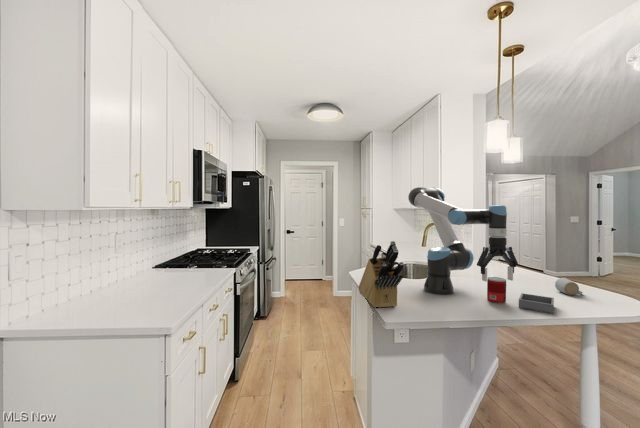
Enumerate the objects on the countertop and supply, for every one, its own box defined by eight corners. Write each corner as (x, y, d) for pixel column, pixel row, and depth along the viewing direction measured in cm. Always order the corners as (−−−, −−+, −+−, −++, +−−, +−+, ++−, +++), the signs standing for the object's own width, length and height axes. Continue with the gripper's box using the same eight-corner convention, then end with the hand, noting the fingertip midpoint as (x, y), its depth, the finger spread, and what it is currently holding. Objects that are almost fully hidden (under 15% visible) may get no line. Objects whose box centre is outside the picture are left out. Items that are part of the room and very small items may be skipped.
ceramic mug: (564, 295, 159) (565, 280, 159) (554, 291, 167) (555, 277, 167) (586, 296, 158) (587, 281, 158) (575, 292, 166) (575, 278, 166)
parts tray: (518, 308, 140) (518, 299, 140) (521, 301, 150) (521, 293, 150) (553, 314, 132) (553, 304, 132) (553, 306, 142) (553, 297, 142)
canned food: (508, 303, 146) (508, 280, 146) (490, 302, 148) (490, 280, 147) (502, 299, 153) (502, 277, 153) (485, 298, 155) (485, 276, 155)
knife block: (380, 316, 130) (381, 243, 129) (357, 292, 165) (358, 235, 164) (406, 314, 132) (406, 242, 131) (378, 291, 167) (378, 234, 166)
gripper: (478, 238, 144) (478, 283, 145) (526, 237, 147) (526, 281, 148) (469, 236, 152) (469, 279, 152) (515, 235, 155) (515, 277, 155)
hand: (497, 280), depth 150 cm, fingers open, 13 cm apart
